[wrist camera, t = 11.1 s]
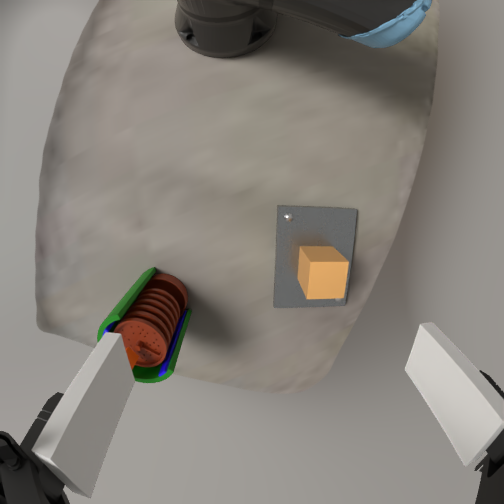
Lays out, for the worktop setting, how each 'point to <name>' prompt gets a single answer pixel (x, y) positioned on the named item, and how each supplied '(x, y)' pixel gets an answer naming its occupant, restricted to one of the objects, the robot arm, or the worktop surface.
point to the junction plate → (309, 234)
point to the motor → (151, 325)
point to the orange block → (322, 272)
